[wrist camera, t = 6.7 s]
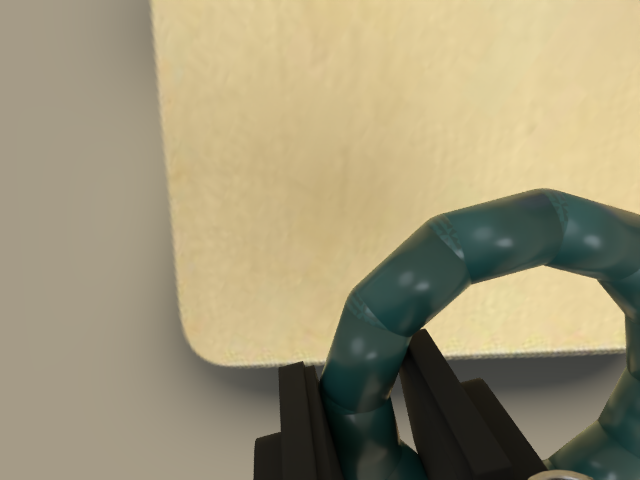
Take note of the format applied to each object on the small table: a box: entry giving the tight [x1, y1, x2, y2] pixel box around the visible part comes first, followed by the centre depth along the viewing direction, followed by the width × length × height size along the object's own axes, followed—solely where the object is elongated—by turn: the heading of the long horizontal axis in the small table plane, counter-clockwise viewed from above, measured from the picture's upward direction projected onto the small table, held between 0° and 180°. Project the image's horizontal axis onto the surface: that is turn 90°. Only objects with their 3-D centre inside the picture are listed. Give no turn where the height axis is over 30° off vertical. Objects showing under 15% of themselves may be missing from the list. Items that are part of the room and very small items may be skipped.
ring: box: [319, 188, 640, 480], centre depth 10 cm, size 8×8×1 cm
